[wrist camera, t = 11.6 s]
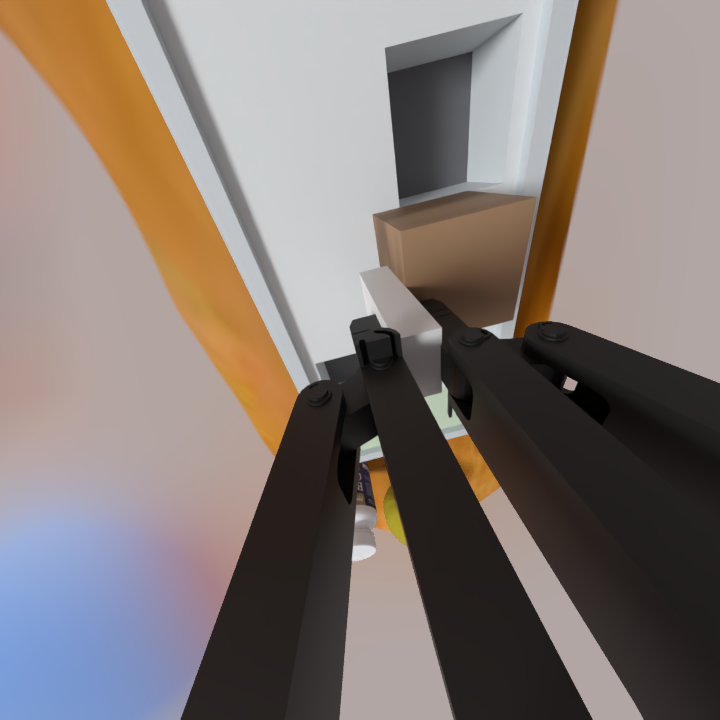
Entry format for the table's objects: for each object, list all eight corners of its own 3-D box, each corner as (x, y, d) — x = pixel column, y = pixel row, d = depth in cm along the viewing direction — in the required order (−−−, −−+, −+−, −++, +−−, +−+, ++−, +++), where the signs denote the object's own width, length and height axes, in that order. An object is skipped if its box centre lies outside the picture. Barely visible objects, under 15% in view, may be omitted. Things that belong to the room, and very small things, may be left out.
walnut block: (372, 214, 13) (400, 231, 9) (466, 190, 13) (537, 197, 9) (385, 303, 16) (410, 346, 12) (462, 284, 16) (513, 319, 12)
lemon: (426, 493, 41) (448, 552, 35) (379, 503, 40) (392, 565, 34) (434, 454, 35) (462, 517, 28) (377, 464, 34) (393, 532, 27)
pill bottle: (359, 444, 31) (376, 536, 23) (371, 466, 34) (389, 554, 26) (317, 458, 31) (319, 554, 23) (333, 479, 34) (340, 569, 26)
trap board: (139, -18, 10) (44, -125, 7) (518, -113, 10) (631, -271, 7) (332, 430, 28) (336, 468, 25) (471, 394, 28) (495, 426, 25)
